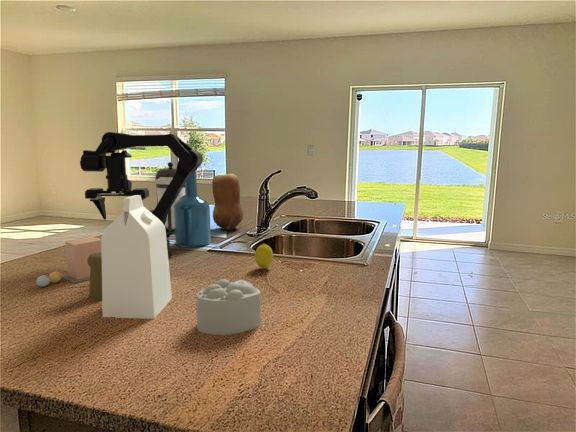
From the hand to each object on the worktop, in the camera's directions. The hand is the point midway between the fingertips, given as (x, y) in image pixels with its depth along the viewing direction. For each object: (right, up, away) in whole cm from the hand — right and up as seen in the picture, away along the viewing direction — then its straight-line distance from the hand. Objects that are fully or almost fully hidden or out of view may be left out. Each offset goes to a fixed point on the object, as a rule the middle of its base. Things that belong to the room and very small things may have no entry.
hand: (119, 219), depth 132 cm
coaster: (-3, -16, -16) cm, 23 cm away
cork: (+9, -19, -31) cm, 38 cm away
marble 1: (-10, -18, -25) cm, 32 cm away
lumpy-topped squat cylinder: (+43, -22, -47) cm, 67 cm away
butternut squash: (+29, -5, +48) cm, 56 cm away
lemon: (+48, -15, -9) cm, 51 cm away
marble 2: (-8, -17, -22) cm, 29 cm away
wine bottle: (+19, -10, +22) cm, 31 cm away
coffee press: (+5, -5, +47) cm, 48 cm away
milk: (+21, -20, -38) cm, 48 cm away
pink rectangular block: (-3, -16, -16) cm, 23 cm away
